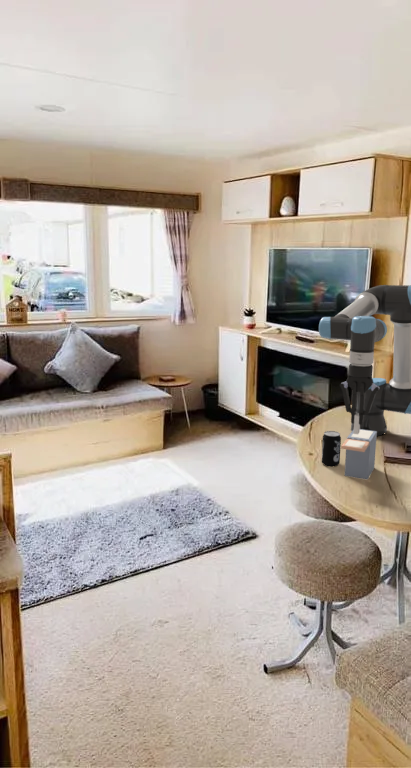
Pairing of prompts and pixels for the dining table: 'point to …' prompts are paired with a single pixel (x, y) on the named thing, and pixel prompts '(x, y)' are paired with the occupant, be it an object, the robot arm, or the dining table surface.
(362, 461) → the block
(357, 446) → the stub
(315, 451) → the dining table surface
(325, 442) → the beverage can
